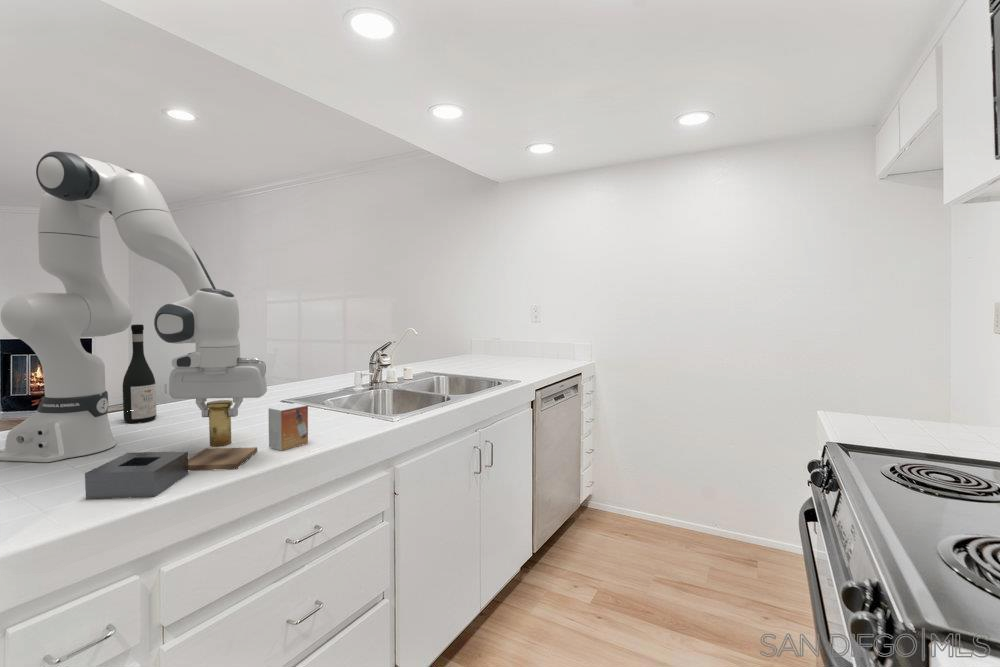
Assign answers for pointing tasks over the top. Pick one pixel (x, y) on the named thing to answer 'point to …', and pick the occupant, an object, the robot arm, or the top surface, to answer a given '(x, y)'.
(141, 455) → the block
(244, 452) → the board
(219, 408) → the gold cylinder
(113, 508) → the top surface
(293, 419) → the small box
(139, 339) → the wine bottle
